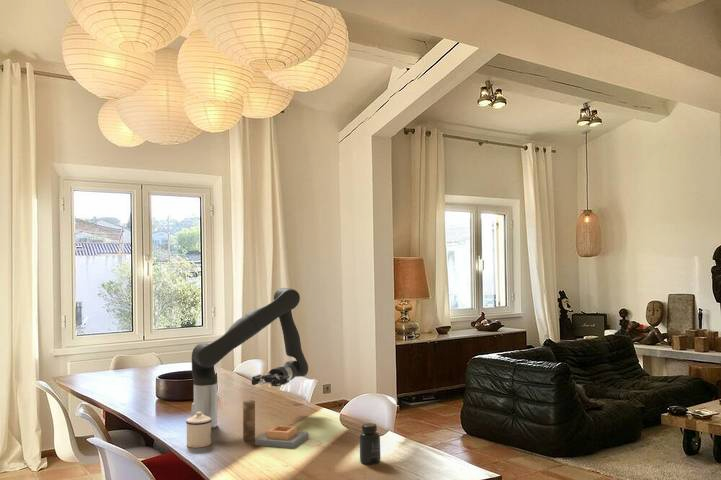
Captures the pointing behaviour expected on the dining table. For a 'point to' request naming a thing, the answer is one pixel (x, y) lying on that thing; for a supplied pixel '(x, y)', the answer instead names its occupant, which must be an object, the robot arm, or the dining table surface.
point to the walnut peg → (249, 420)
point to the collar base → (282, 437)
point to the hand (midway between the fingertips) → (262, 383)
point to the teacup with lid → (198, 430)
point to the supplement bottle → (369, 444)
